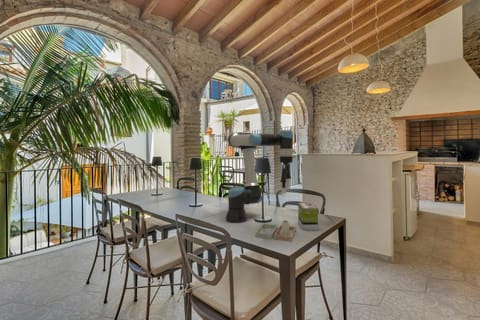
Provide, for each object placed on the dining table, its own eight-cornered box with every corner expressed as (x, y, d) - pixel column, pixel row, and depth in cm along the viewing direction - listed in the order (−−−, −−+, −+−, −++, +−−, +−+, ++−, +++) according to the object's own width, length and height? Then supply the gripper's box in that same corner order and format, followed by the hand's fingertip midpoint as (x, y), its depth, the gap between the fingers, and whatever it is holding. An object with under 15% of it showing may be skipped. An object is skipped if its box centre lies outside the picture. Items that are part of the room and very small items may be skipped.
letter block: (281, 235, 148) (281, 222, 147) (282, 233, 151) (282, 220, 151) (288, 236, 146) (288, 222, 146) (289, 234, 150) (289, 220, 150)
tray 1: (255, 236, 146) (255, 232, 146) (262, 226, 163) (262, 223, 163) (271, 238, 143) (271, 234, 142) (277, 228, 160) (277, 224, 159)
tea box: (297, 222, 171) (297, 202, 171) (312, 222, 171) (312, 202, 170) (302, 230, 156) (302, 207, 156) (318, 230, 156) (318, 207, 155)
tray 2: (274, 239, 142) (274, 234, 142) (279, 228, 159) (279, 225, 159) (291, 241, 139) (291, 236, 139) (295, 230, 156) (295, 226, 155)
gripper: (289, 157, 133) (289, 195, 134) (295, 155, 156) (294, 188, 158) (275, 156, 135) (275, 194, 137) (283, 154, 159) (283, 187, 160)
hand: (285, 191), depth 147 cm, fingers open, 13 cm apart
